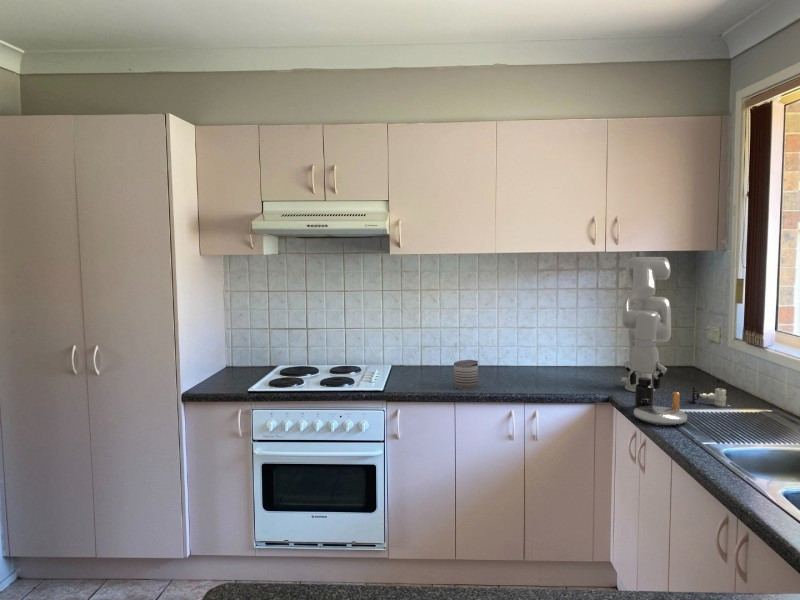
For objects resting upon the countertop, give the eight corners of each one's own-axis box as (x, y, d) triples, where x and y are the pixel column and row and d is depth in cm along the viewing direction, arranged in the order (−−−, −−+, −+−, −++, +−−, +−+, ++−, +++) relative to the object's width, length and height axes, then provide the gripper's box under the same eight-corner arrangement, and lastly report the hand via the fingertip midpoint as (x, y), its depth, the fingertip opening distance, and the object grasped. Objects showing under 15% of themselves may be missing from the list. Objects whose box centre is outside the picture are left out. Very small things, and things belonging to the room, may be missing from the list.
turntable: (671, 427, 196) (672, 407, 196) (624, 415, 211) (624, 397, 210) (701, 415, 209) (701, 397, 209) (654, 405, 224) (655, 387, 223)
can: (479, 390, 256) (479, 364, 255) (454, 390, 256) (454, 364, 255) (477, 384, 267) (477, 359, 266) (453, 384, 268) (453, 359, 266)
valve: (726, 404, 228) (692, 400, 235) (726, 388, 228) (693, 384, 234) (725, 408, 223) (691, 404, 229) (726, 392, 222) (692, 388, 228)
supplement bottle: (644, 411, 220) (645, 381, 219) (630, 406, 226) (631, 377, 225) (657, 409, 223) (657, 379, 222) (643, 404, 229) (644, 375, 228)
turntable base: (668, 428, 199) (668, 425, 199) (632, 419, 210) (632, 416, 210) (688, 420, 208) (688, 418, 208) (651, 412, 219) (651, 409, 219)
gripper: (620, 342, 226) (619, 383, 228) (662, 347, 213) (660, 391, 214) (630, 340, 231) (629, 381, 232) (672, 345, 217) (670, 388, 218)
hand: (644, 386), depth 223 cm, fingers open, 9 cm apart
